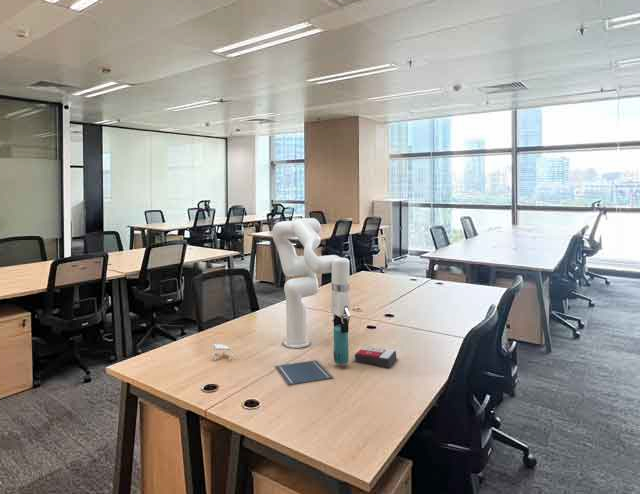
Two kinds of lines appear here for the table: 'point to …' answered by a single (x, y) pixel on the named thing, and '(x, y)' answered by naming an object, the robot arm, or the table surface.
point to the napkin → (303, 372)
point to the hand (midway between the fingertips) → (340, 329)
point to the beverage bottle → (340, 344)
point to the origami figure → (221, 347)
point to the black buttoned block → (376, 356)
